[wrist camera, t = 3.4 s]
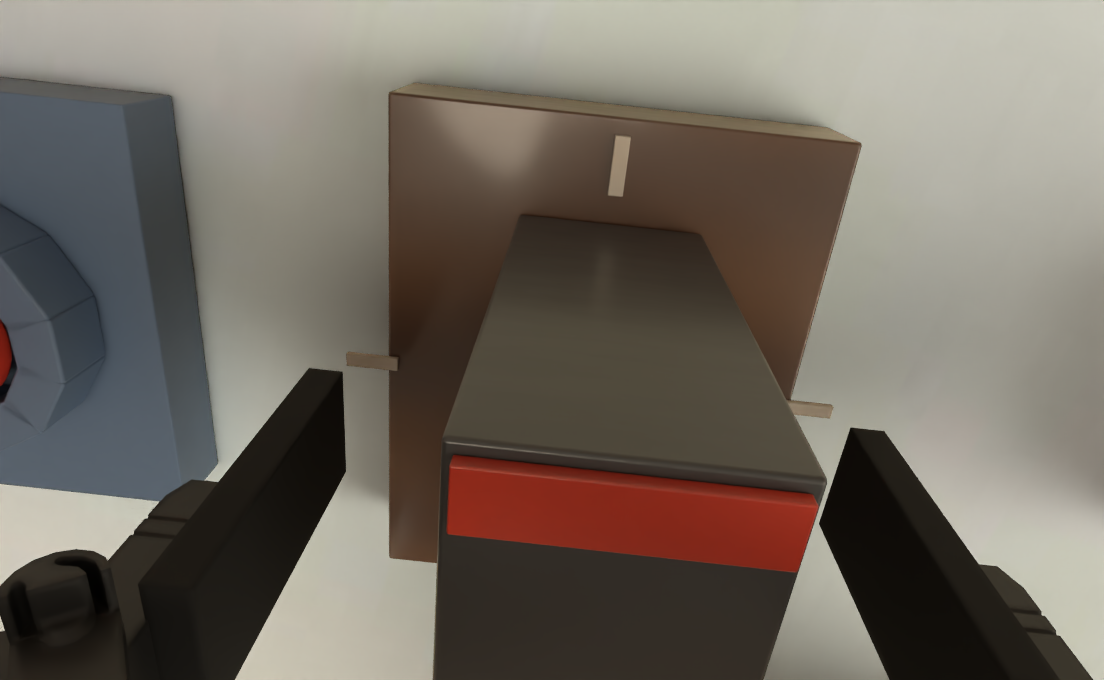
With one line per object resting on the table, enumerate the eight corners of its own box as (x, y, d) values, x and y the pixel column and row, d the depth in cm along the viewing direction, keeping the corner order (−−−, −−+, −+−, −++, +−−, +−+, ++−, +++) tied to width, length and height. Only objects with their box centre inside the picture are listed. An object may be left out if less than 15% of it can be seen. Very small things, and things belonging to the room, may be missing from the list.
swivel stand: (753, 546, 24) (772, 604, 22) (375, 504, 24) (352, 558, 22) (871, 131, 18) (914, 149, 16) (370, 77, 18) (337, 87, 16)
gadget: (645, 524, 21) (690, 931, 12) (496, 507, 21) (421, 901, 12) (702, 233, 17) (837, 492, 8) (519, 213, 17) (436, 449, 8)
